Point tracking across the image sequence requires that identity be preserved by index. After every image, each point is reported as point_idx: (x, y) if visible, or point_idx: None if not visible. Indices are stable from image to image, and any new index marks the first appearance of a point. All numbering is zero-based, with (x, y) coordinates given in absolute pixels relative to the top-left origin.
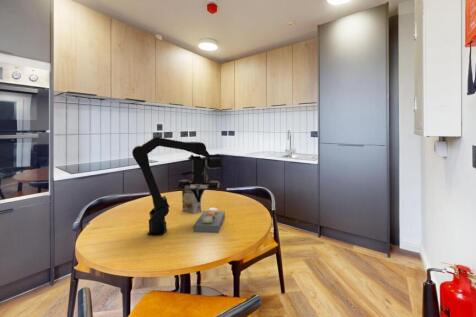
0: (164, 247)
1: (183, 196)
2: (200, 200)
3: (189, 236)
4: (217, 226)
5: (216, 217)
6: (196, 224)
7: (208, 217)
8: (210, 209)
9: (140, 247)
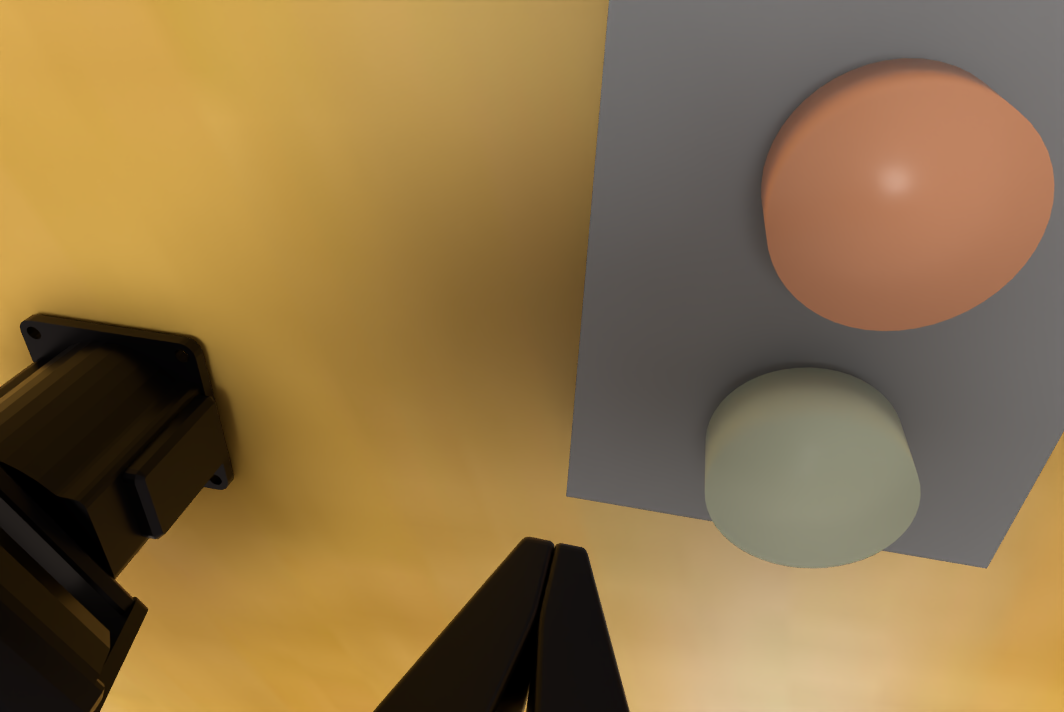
0: (390, 669)
1: None
2: (594, 609)
3: (553, 525)
4: (969, 559)
5: (1048, 150)
6: (604, 480)
7: (828, 491)
8: None
9: (203, 639)
